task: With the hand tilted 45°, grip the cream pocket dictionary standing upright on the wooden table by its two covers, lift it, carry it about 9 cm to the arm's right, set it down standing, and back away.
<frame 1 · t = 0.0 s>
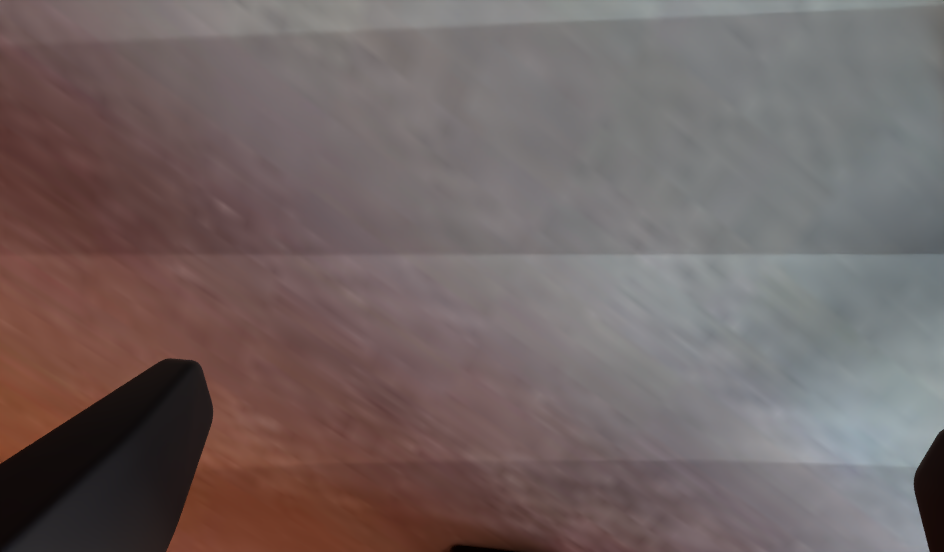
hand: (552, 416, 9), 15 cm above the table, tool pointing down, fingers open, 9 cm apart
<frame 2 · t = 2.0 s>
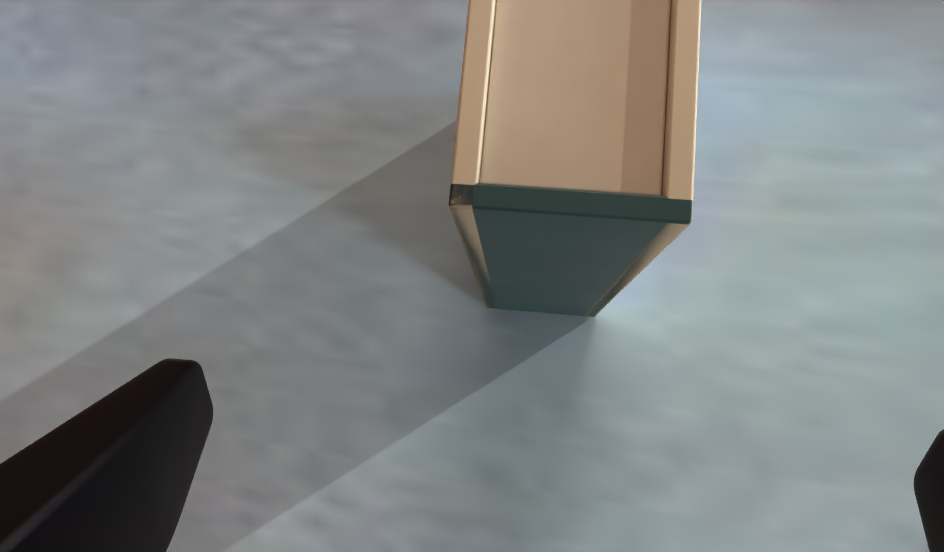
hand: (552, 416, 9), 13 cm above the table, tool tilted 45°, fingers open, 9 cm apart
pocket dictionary: (548, 199, 23), on the table
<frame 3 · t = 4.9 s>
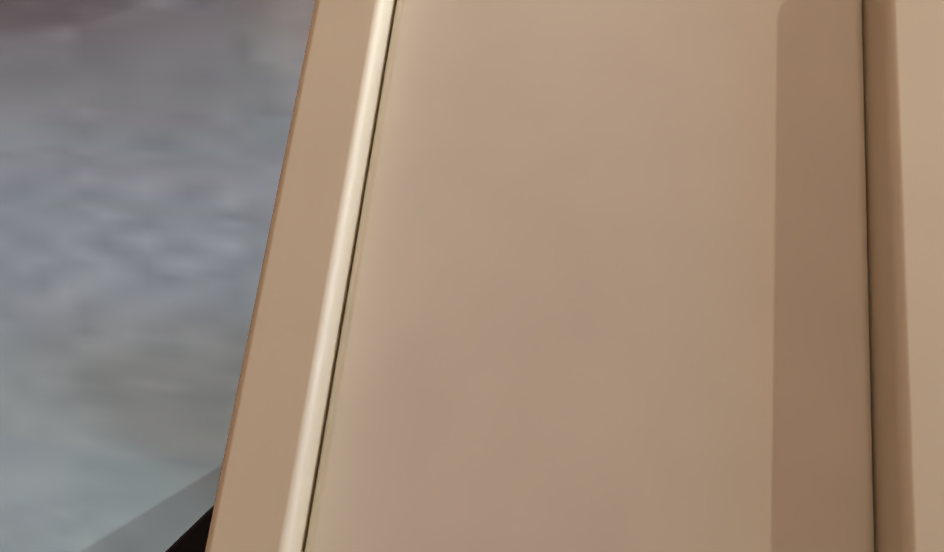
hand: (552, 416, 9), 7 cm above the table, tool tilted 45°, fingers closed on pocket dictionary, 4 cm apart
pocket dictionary: (523, 492, 15), on the table, touching gripper
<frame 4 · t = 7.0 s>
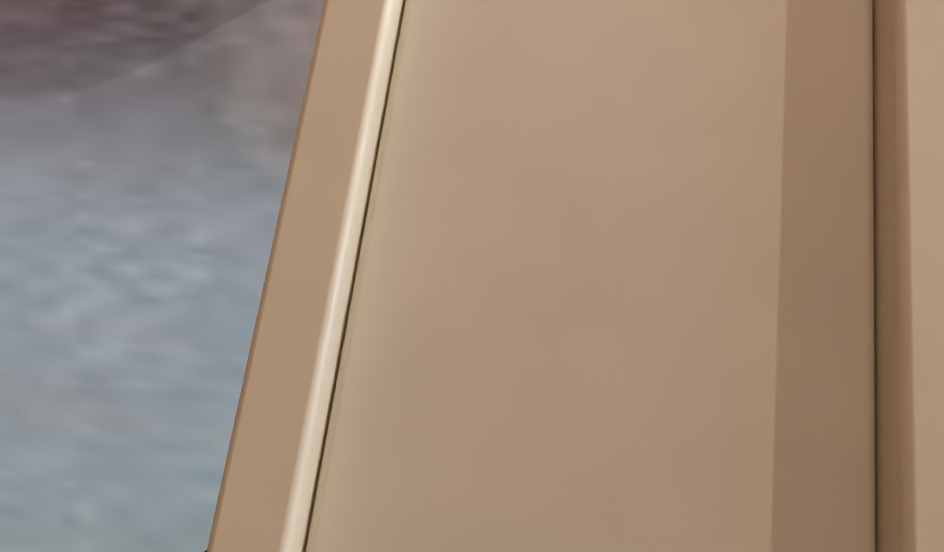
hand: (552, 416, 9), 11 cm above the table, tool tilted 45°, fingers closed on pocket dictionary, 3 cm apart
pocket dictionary: (533, 485, 15), point 5 cm above the table, tilted 5°, touching gripper
when the fingers open (7 cm above the table, at t = 9.5 s): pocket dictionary stays where it is, on the table.
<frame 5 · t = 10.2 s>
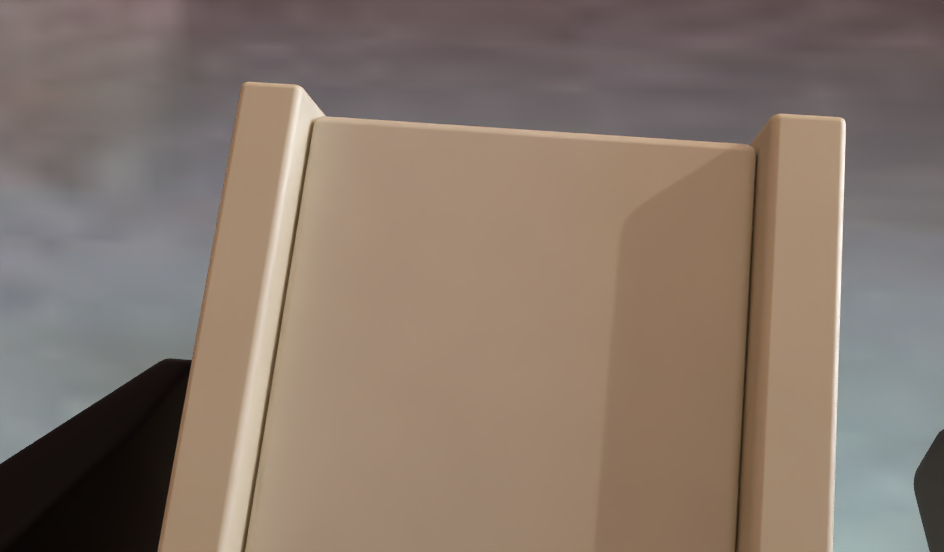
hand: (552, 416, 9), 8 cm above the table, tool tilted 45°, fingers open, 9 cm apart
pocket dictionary: (532, 490, 16), on the table
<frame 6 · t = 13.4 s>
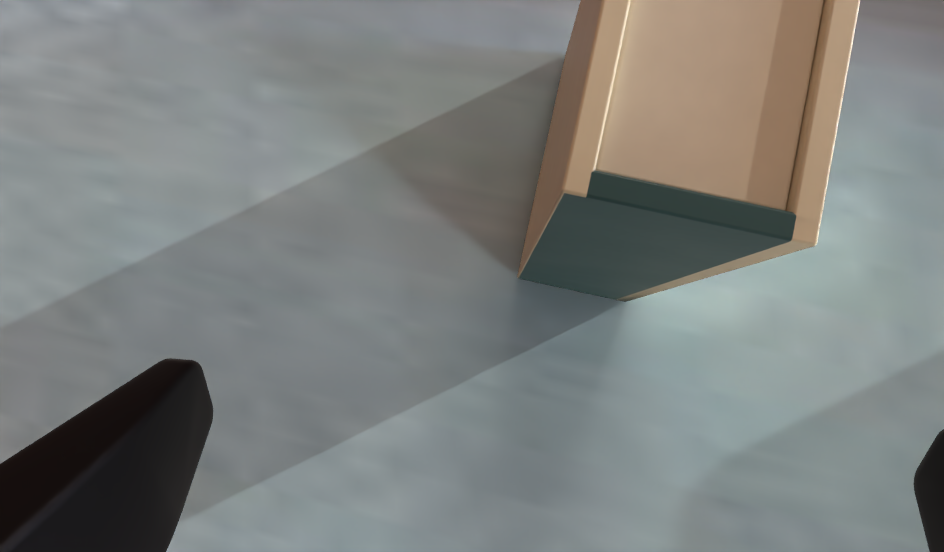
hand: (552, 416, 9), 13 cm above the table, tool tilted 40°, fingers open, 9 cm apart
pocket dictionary: (595, 175, 22), on the table
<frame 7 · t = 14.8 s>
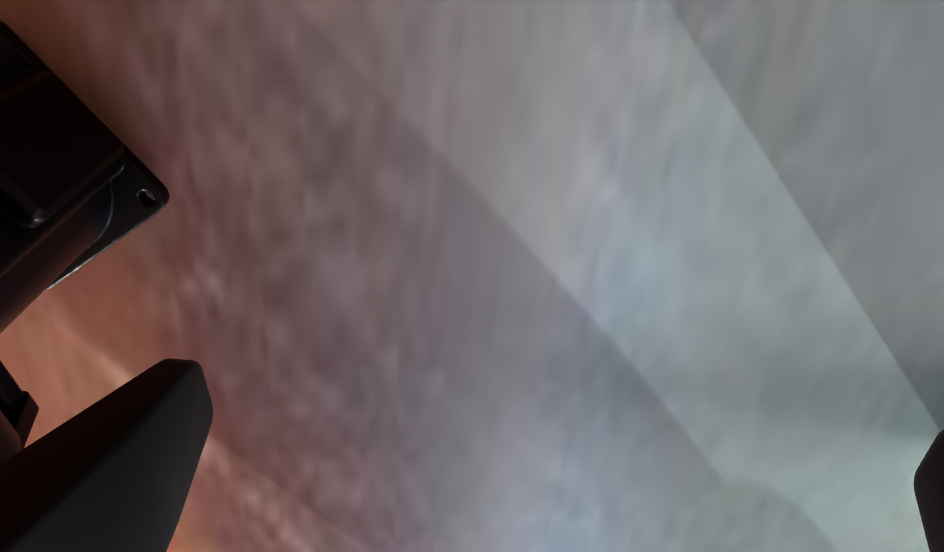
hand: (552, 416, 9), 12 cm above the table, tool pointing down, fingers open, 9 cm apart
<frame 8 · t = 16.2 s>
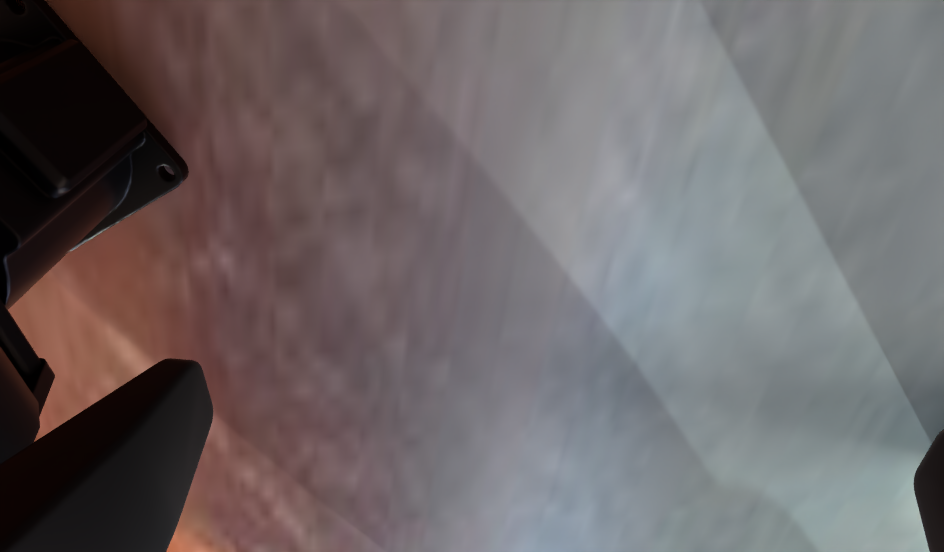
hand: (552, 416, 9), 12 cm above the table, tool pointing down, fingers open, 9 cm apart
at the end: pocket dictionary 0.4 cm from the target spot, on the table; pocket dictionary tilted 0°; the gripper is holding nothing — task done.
